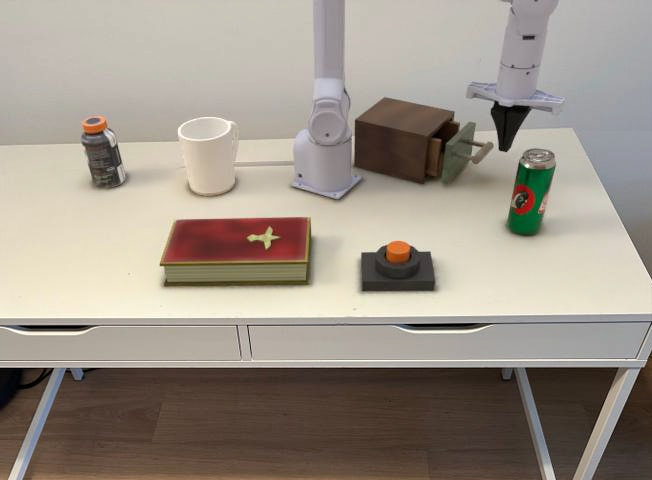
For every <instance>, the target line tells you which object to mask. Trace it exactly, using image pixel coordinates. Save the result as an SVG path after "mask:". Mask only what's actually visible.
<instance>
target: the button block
mask: <svg viewBox="0 0 652 480" xmlns="http://www.w3.org/2000/svg"><path fill="white" fill-rule="evenodd" d="M387 245H388V244H385V245H382V246H380V248H379V249H378V250H377V251H362V252H361V253H360V270H361V271H360V272H361V273H360V275H361V291H362V292H370V291H371V292H373V291H374V292H375V291H377V292H378V291H379V292H380V291H381V292H383V291H385V292H387V291H390V292H391V291H434V290H435V287H436V277H435V270H434V263H433V259H432V251H430V250H429V251H426V250H425V251H419V250H418V249H417V248H416V247H414V246H413V245H410V256H409V260H408V261H407V262H405V263H392V262H389V261H388V260H387V258H386V253H387Z"/></svg>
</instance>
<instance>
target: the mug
mask: <svg viewBox="0 0 652 480" xmlns="http://www.w3.org/2000/svg"><path fill="white" fill-rule="evenodd" d="M232 132H233V133H232ZM177 137H178V141H179V145H180V149H181V155H182V157H183V163H184V167H185V171H186V175H187V179H188V185H189V188H190V190H191V191H192V192H193V193H195V194H196V195H199V196H203V197H214V196H220V195H223V194H226V193H227V192H229V191H231V189H233V188H234V186H235V184H236V173H235V162H236V159H237V153H238V150H239V149H238V148H239V141H240V131H239V127H238V125H237V123H236V122H234V121H232V120H227V119H224V118H221V117H217V116H206V117H204V116H203V117H197V118H194V119H190V120H188V121H185V122H184V123H183V124H181V125H180V126H179V127H178V129H177Z"/></svg>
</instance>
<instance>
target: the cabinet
mask: <svg viewBox="0 0 652 480" xmlns="http://www.w3.org/2000/svg"><path fill="white" fill-rule="evenodd" d="M455 113H456V111H454V110H449V109H445V108H440V107H435V106H430V105H426V104H420V103H416V102H410V101H406V100H401V99H397V98H392V97H388V96H387V97H386V96H384V97H383V98H381V99H380V100H378V101H377V102H375V104H373V105H372V106H371V107H369V108H368V109H367V110H366V111H364V112H363V113H361V114H360V115H359V116H358V117H356V118H355V119H354V141H353V142H354V147H353V148H354V150H353V151H354V153H353V154H354V155H353V157H354V158H353V162H354V163H353V166H354V167H357V168H361V169H364V170H368V171H373V172H376V173H380V174H384V175H387V176H390V177H391V176H392V177H394V178H395V177H396V178H398V179H403V180H406V181H410V182H414V183H419V184H421V185H424V183H426V182H427V181H428V180H429V179H430V178H431V177H432V175H428V174H426V166H427V155H428V145H429V138H430V137H432V136H433V135H434V134H435V133H436V132H437V131H438V130H439V129H440V128H441V127H443V126H444V125H445V124H446V123H447V122H448V121H449V120H450V121H455Z"/></svg>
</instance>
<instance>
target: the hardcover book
mask: <svg viewBox="0 0 652 480" xmlns="http://www.w3.org/2000/svg"><path fill="white" fill-rule="evenodd" d="M311 219H312V218H311V216H288V217H287V216H285V217H284V216H283V217H282V216H281V217H243V218H242V217H239V218H238V217H237V218H236V217H235V218H234V217H231V218H230V217H229V218H188V219H187V218H185V219H183V218H182V219H173V222H172V225H171V227H170V231H169V233H168V237H167V240H166V243H165V246H164V250H163V252H162V256H161V258H160V261H159V267H163V269H164V274H165V280H164V283H163V284H164V287H192V286H194V287H197V286H200V287H201V286H277V285H278V286H279V285H281V286H282V285H284V286H287V285H291V286H292V285H293V286H295V285H309V284H310V269H311V268H310V267H311V249H312V222H311V221H312V220H311Z"/></svg>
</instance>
